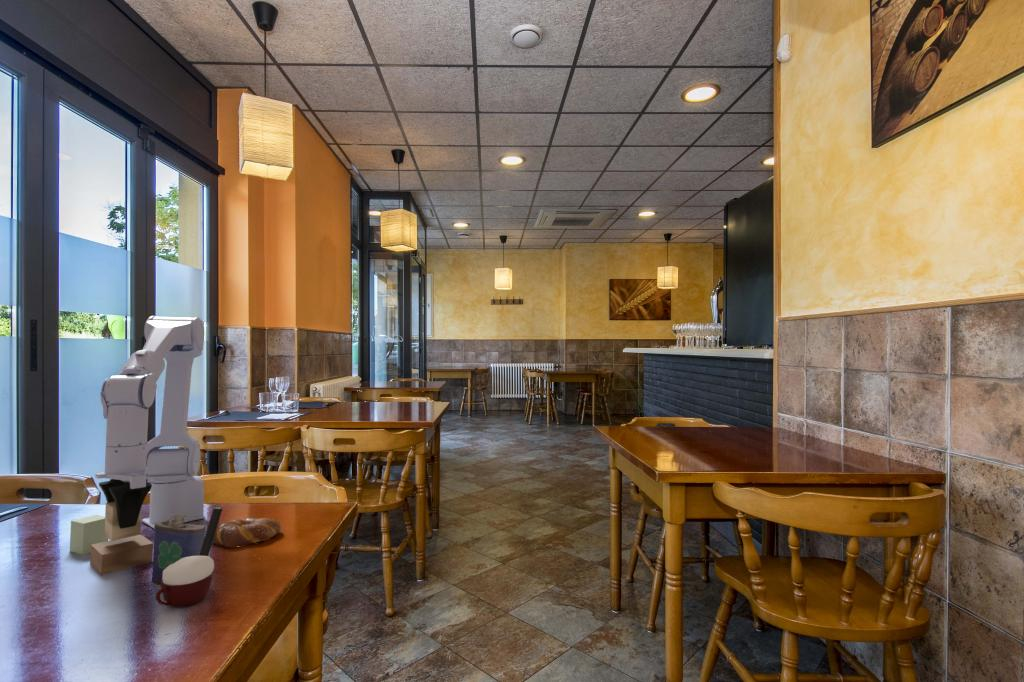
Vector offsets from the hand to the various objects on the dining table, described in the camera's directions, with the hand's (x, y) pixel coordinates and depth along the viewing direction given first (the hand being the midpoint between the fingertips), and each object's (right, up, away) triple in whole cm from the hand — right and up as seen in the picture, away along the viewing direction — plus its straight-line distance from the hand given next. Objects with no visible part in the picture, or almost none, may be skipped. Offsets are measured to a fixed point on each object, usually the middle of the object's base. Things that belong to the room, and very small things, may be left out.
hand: (123, 524), depth 87 cm
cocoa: (+20, -6, -14) cm, 25 cm away
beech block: (0, -2, 0) cm, 2 cm away
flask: (+14, -7, -8) cm, 18 cm away
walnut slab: (0, -7, 0) cm, 7 cm away
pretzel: (+15, -8, +12) cm, 21 cm away
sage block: (-11, -7, +6) cm, 14 cm away
